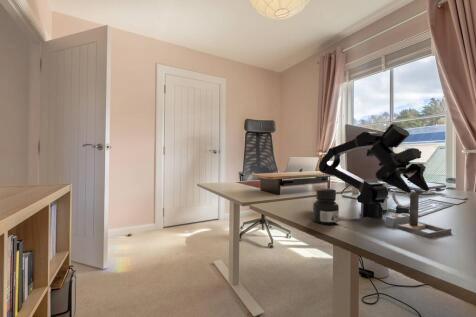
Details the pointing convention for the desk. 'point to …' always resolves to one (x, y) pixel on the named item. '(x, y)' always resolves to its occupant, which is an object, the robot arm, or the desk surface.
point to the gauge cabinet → (398, 219)
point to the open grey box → (438, 232)
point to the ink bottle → (325, 207)
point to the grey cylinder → (414, 212)
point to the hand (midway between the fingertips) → (419, 191)
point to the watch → (401, 207)
